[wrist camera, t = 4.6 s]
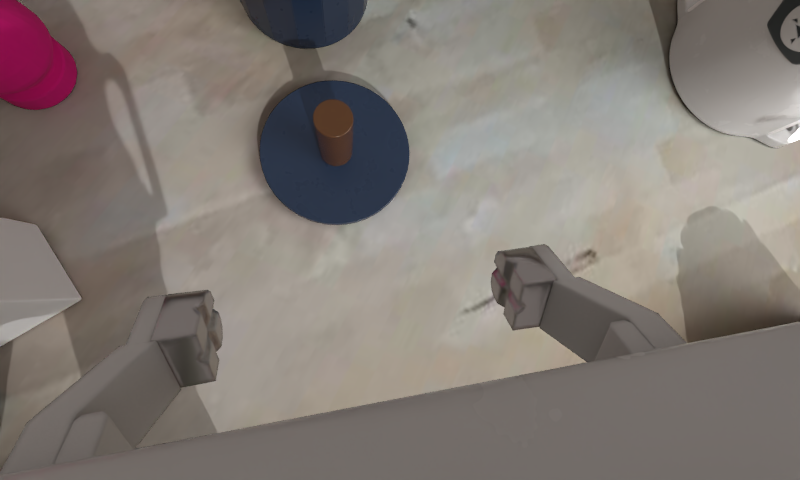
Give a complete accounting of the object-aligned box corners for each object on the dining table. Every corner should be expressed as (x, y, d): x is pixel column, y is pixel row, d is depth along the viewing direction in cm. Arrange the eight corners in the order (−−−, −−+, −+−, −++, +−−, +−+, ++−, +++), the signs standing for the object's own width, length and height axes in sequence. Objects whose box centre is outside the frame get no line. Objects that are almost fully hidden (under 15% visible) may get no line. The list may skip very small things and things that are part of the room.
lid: (361, 63, 38) (364, 3, 30) (433, 181, 38) (457, 152, 30) (234, 127, 36) (202, 81, 28) (310, 253, 36) (298, 243, 28)
